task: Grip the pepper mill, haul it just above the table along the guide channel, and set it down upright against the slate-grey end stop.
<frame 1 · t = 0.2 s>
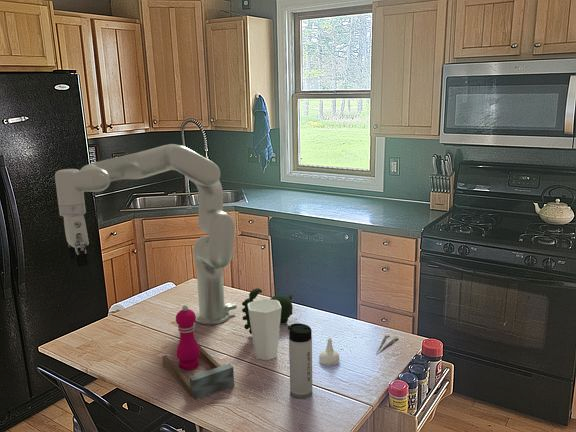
hand: (78, 262, 161), 31 cm above the kitchen island, tool pointing down, fingers open, 9 cm apart
guide channel: (196, 373, 153), on the kitchen island
toy figurine: (270, 329, 182), on the kitchen island
pepper mill: (189, 366, 158), on the kitchen island
garlic bulb: (329, 362, 159), on the kitchen island
tweezers: (382, 349, 167), on the kitchen island
travel mug: (300, 392, 143), on the kitchen island
cup: (266, 355, 164), on the kitchen island
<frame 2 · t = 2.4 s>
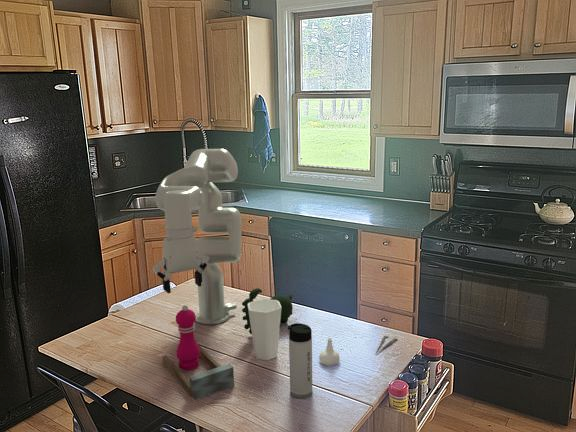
hand: (183, 288, 152), 26 cm above the kitchen island, tool pointing down, fingers open, 9 cm apart
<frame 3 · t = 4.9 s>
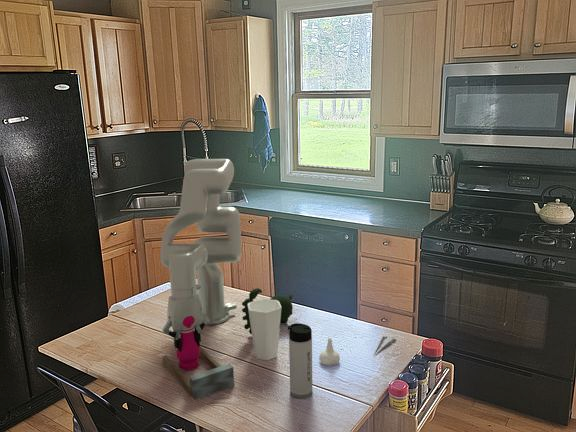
hand: (187, 346, 157), 7 cm above the kitchen island, tool pointing down, fingers closed on pepper mill, 5 cm apart
pepper mill: (189, 366, 158), on the kitchen island, touching gripper
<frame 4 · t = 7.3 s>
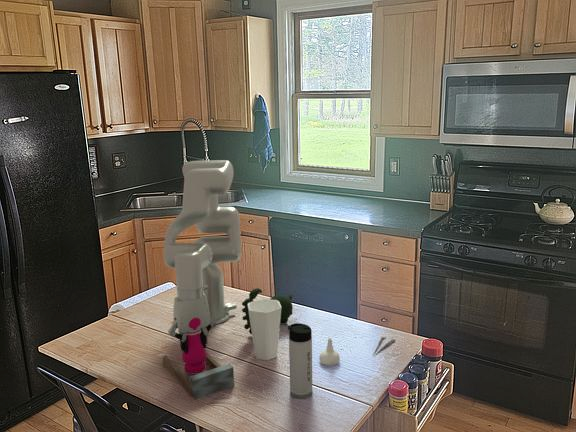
hand: (194, 348, 152), 8 cm above the kitchen island, tool pointing down, fingers closed on pepper mill, 5 cm apart
pepper mill: (195, 369, 154), point 1 cm above the kitchen island, touching gripper
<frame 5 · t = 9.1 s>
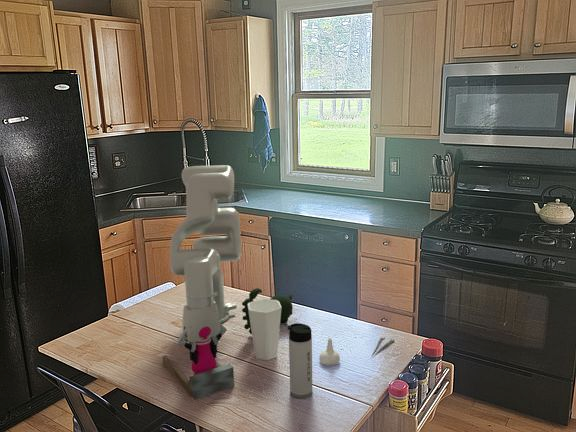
hand: (203, 358, 147), 8 cm above the kitchen island, tool pointing down, fingers closed on pepper mill, 5 cm apart
pepper mill: (204, 379, 148), point 1 cm above the kitchen island, touching gripper
when the fingers open (7 cm above the kitchen island, at t = 9.9 s): pepper mill stays where it is, on the kitchen island.
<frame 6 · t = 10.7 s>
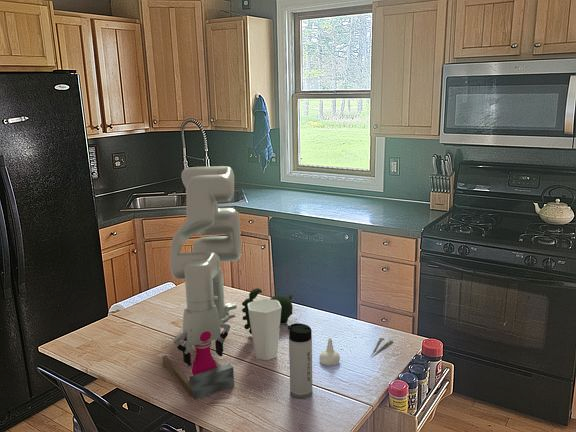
hand: (203, 359, 147), 8 cm above the kitchen island, tool pointing down, fingers open, 9 cm apart
pepper mill: (205, 383, 149), on the kitchen island
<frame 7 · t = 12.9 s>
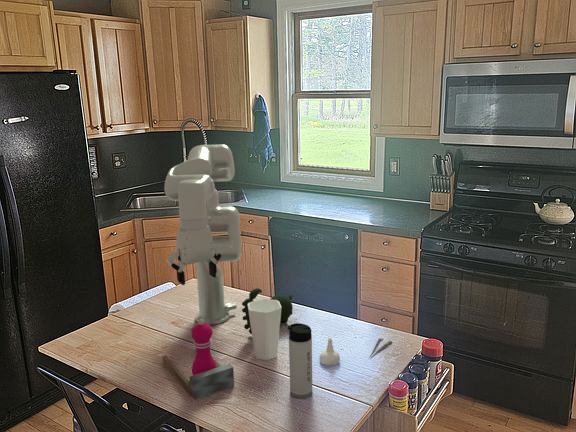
hand: (197, 279, 149), 29 cm above the kitchen island, tool pointing down, fingers open, 9 cm apart
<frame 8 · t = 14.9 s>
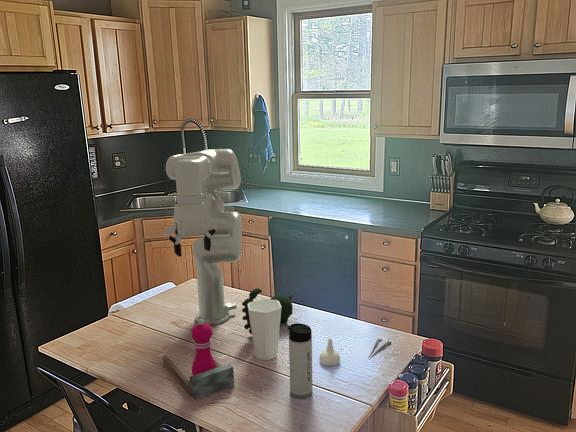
hand: (193, 252, 161), 33 cm above the kitchen island, tool pointing down, fingers open, 9 cm apart
at the end: pepper mill 0.6 cm from the target spot, on the kitchen island; pepper mill tilted 0°; the gripper is holding nothing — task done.
